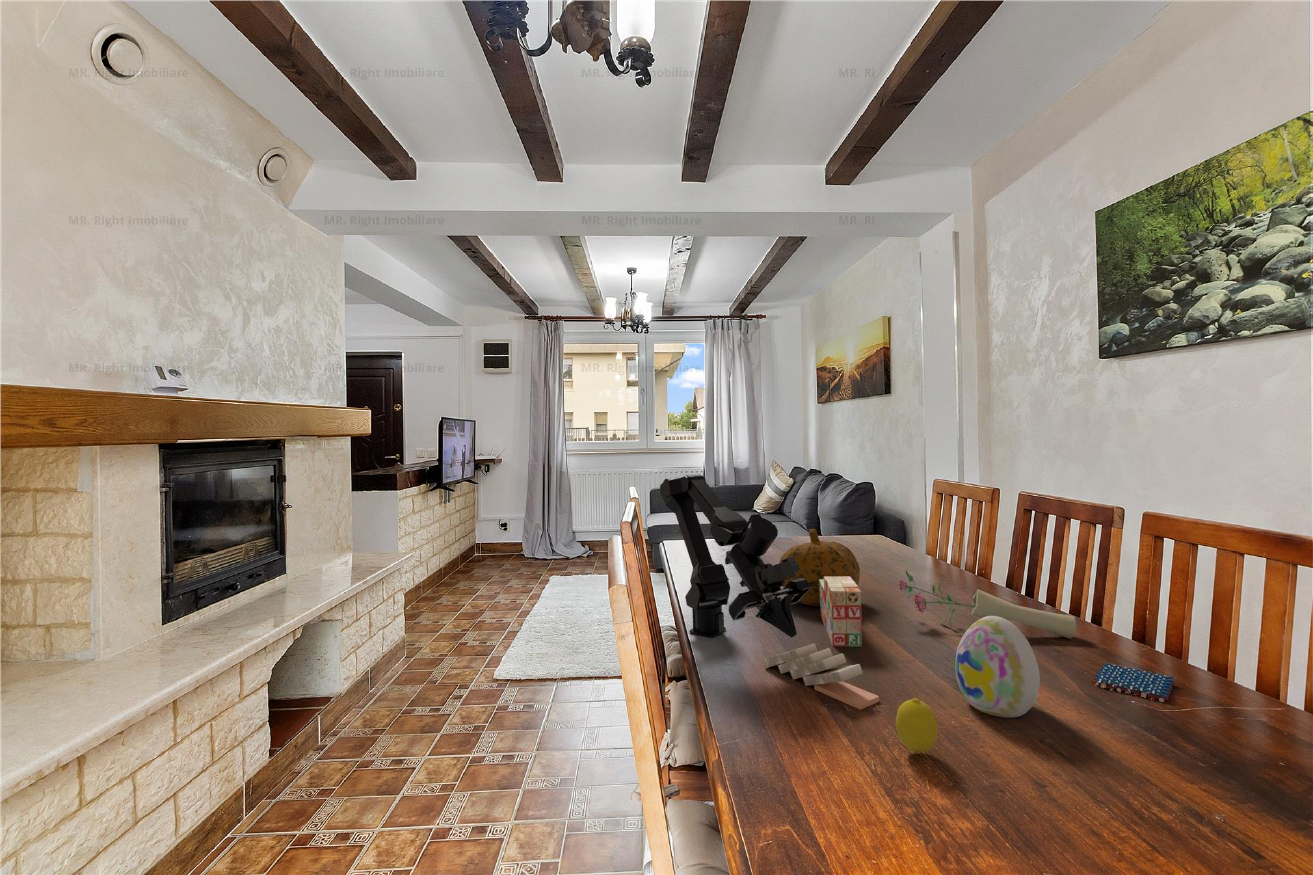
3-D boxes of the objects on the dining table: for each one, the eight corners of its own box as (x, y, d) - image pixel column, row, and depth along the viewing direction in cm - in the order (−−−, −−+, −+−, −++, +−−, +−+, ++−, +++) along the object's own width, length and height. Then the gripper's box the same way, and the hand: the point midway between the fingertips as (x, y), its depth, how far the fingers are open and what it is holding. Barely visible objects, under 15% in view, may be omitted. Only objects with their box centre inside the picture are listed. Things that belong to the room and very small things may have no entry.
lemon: (935, 746, 89) (934, 692, 89) (940, 766, 84) (938, 709, 84) (895, 741, 91) (894, 688, 91) (897, 760, 86) (895, 704, 85)
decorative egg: (939, 699, 104) (937, 612, 104) (989, 685, 109) (987, 602, 108) (1005, 731, 93) (1003, 633, 92) (1058, 713, 97) (1056, 621, 97)
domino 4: (802, 676, 111) (839, 671, 103) (822, 669, 114) (859, 664, 106) (805, 685, 111) (842, 681, 103) (825, 678, 113) (863, 673, 105)
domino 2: (777, 665, 117) (810, 654, 109) (796, 659, 120) (829, 647, 112) (780, 673, 116) (813, 663, 109) (799, 667, 119) (832, 656, 111)
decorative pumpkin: (874, 607, 152) (864, 528, 153) (791, 617, 153) (782, 538, 153) (850, 589, 173) (841, 520, 173) (777, 598, 173) (768, 528, 174)
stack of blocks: (819, 615, 151) (818, 566, 151) (845, 616, 150) (844, 566, 150) (832, 647, 130) (831, 590, 130) (862, 647, 129) (861, 590, 129)
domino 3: (789, 670, 114) (823, 659, 107) (809, 664, 117) (842, 652, 109) (793, 679, 114) (826, 669, 106) (812, 672, 116) (846, 662, 108)
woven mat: (1102, 670, 115) (1101, 660, 114) (1175, 686, 107) (1175, 675, 107) (1089, 688, 107) (1089, 677, 107) (1167, 707, 100) (1167, 695, 100)
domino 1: (763, 659, 120) (796, 649, 113) (781, 653, 123) (814, 642, 115) (766, 667, 119) (799, 657, 112) (784, 661, 122) (817, 651, 115)
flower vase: (1064, 677, 128) (891, 628, 139) (1053, 641, 139) (892, 598, 150) (1083, 632, 124) (902, 585, 135) (1069, 599, 134) (903, 558, 146)
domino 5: (814, 684, 109) (860, 704, 101) (832, 677, 112) (879, 696, 104) (814, 693, 109) (860, 713, 101) (832, 685, 112) (879, 705, 104)
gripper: (736, 552, 115) (781, 624, 106) (803, 539, 126) (849, 603, 117) (711, 585, 122) (751, 655, 113) (776, 570, 132) (817, 633, 123)
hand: (794, 635), depth 116 cm, fingers closed
